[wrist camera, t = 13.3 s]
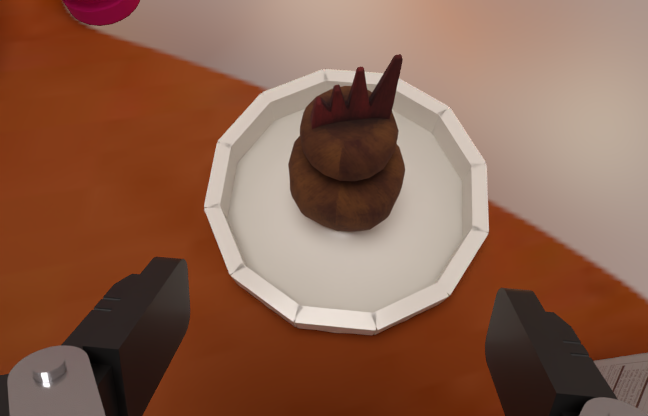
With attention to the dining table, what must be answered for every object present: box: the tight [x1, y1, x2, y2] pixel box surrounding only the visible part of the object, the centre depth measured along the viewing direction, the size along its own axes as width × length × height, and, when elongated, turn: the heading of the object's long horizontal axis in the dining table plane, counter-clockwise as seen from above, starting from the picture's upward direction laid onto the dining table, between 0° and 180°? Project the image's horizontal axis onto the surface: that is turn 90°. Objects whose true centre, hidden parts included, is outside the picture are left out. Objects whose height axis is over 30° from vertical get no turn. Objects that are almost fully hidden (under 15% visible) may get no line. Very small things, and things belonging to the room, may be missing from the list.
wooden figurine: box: [288, 54, 405, 232], centre depth 26 cm, size 7×6×15 cm
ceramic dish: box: [204, 69, 489, 335], centre depth 32 cm, size 18×18×3 cm
